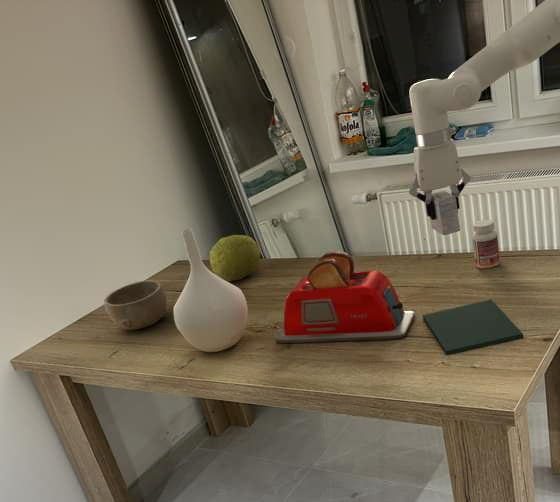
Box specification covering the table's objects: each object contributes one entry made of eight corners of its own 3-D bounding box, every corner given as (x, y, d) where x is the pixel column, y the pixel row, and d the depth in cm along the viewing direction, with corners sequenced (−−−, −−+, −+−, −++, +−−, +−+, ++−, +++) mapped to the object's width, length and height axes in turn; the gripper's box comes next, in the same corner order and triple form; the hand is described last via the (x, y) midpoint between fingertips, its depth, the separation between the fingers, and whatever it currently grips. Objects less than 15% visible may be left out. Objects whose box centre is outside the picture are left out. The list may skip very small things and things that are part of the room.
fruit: (232, 267, 226) (244, 225, 219) (262, 286, 218) (275, 243, 211) (196, 271, 214) (206, 226, 207) (225, 291, 207) (238, 245, 200)
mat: (491, 303, 157) (490, 299, 157) (523, 337, 139) (523, 333, 139) (423, 318, 158) (422, 315, 157) (446, 355, 140) (445, 351, 140)
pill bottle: (504, 262, 176) (501, 220, 171) (486, 270, 175) (482, 228, 170) (488, 258, 182) (484, 217, 177) (470, 266, 180) (466, 224, 175)
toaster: (416, 314, 161) (405, 238, 152) (404, 339, 151) (391, 260, 142) (292, 321, 174) (276, 251, 166) (274, 344, 164) (255, 271, 156)
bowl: (137, 340, 187) (125, 307, 183) (102, 332, 200) (90, 300, 195) (184, 313, 198) (173, 281, 193) (148, 307, 210) (137, 277, 205)
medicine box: (460, 231, 161) (456, 195, 157) (442, 236, 161) (437, 200, 157) (448, 223, 168) (443, 189, 164) (431, 228, 168) (426, 194, 164)
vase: (230, 362, 161) (195, 242, 147) (171, 359, 170) (132, 246, 157) (268, 327, 174) (239, 214, 161) (211, 326, 184) (179, 220, 170)
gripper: (465, 126, 157) (474, 203, 165) (393, 145, 159) (405, 220, 167) (475, 130, 151) (483, 210, 159) (399, 150, 152) (412, 228, 160)
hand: (443, 214), depth 163 cm, fingers closed on medicine box, 4 cm apart
